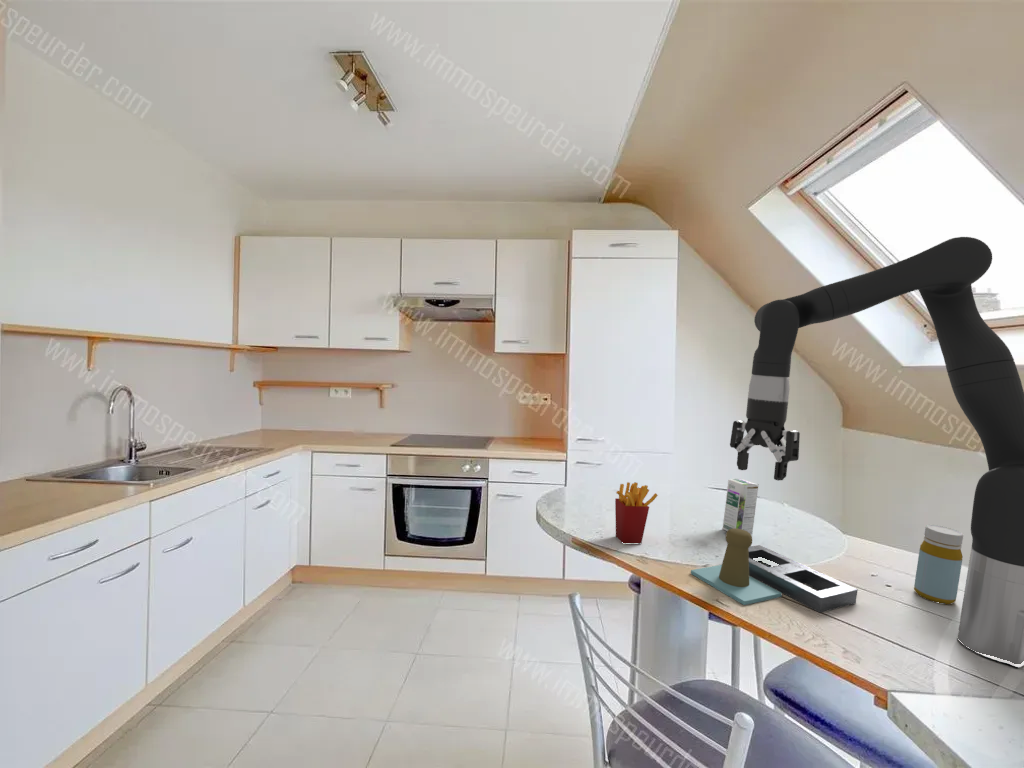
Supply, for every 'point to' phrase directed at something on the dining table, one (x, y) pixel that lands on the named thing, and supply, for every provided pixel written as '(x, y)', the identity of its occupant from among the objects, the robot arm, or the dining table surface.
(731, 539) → the cork
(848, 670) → the dining table surface
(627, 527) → the french fries
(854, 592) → the two-slot holder tray
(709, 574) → the board
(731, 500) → the syrup box
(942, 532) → the bottle
